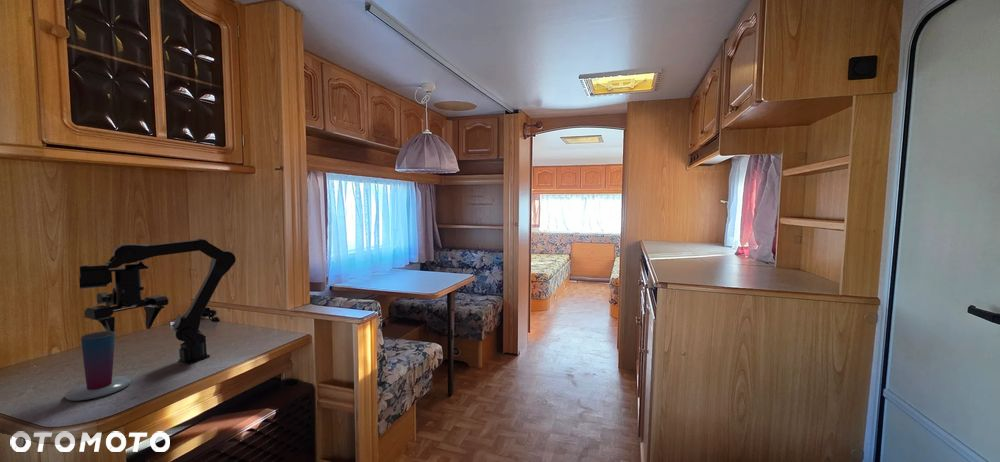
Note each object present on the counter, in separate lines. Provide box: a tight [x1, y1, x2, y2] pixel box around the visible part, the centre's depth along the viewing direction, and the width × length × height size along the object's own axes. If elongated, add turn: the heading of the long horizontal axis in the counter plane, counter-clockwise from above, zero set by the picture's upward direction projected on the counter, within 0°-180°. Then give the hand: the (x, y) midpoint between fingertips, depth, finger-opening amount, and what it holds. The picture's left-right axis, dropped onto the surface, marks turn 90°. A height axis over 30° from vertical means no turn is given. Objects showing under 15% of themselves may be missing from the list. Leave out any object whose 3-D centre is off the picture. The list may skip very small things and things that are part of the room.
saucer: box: [65, 375, 132, 402], centre depth 111 cm, size 13×13×1 cm
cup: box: [80, 330, 116, 390], centre depth 111 cm, size 7×7×15 cm
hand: (130, 333), depth 121 cm, fingers open, 9 cm apart
